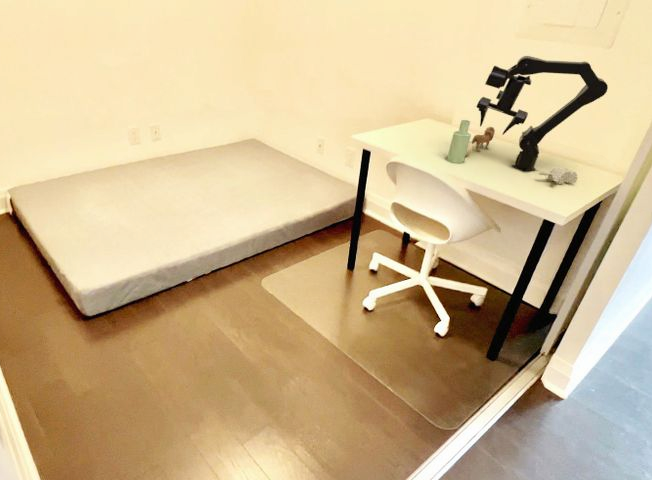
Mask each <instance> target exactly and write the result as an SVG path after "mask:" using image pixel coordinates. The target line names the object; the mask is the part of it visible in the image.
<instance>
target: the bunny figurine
mask: <svg viewBox="0 0 652 480" xmlns="http://www.w3.org/2000/svg"><path fill="white" fill-rule="evenodd" d="M538 175H539V176H547V179H548V180H549V181H550V182H554V183H555V184H556V185H563V184H565V183H570V184H571V183H573V184H575V183H576V182H577V180H578V178H579V177H578V174H577V172H576V171H573V170H570V169H568V168H561V167H557V166H556V167H553V168H552V170H550V171H549V172H548V171H543V170H540V172H539V173H538Z"/></svg>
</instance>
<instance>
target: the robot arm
mask: <svg viewBox="0 0 652 480" xmlns="http://www.w3.org/2000/svg"><path fill="white" fill-rule="evenodd" d="M536 74H561V75H562V74H563V75H579V76H580V77H581V79H582V81H583V82H584V84H585V85H584V86H583V87H582V88H581V89H580V91H579V92H578V93H577V94H576V96H574V98H573V99H571V100H570V101H568V102H567V103H566V104H564V105H563V106H562V107H561V108H560V109H558V110H557V111H556V112H555V113H553V114H552V115H551V116H549V117H548V118H547V119H545V120H544V121H543V122H542V123H541V124H539V125H538V126H534V127H533V126H532V125H530V126H529V127H528V128H527V129H526V130H524V131H522V132H521V135H520V136H519V140H518V146H519V149H520V150H519V153H518V154H517V156H516V159H515V162H514V164H511V167H512V168H515V169H517V170H519V171H521V172H525V173H527V172H531V171H536V168H535V166H536V164H537V160H538V158H539V154H540V149H539V144H540V142H541V141H542V140H543V138H545V136H546V135H547V134H549V133H550V132H551V131H552V130H554V129H555V128H557V127H558V126H559V125H560V124H562V123H563V122H565V120H567V119H568V118H569V117H571V116H572V115H573V114H575V113H576V112H577V111H579V110H580V109H581V108H582V107H584V106H587V105H590V104H591V103H593V102H595V101H597V100H599V99H601V98H602V97H604V96H605V95H606V94H607V92H608V86H609V85H608V83H607V82H606V81H605V80H604V79H603V78H600V77H598V75H597V74H596V73H595V71H594V70H593V68H592V65H591V64H590V63H589V62H588V61H567V60H566V61H565V60H548V59H547V60H546V59H542V58H539V57H534V56H531V55H523V56H521V57H520V58H519V59H518V61H517V62H516V64H514V65H512V66H511V67H509V68H508V69H505V68H502V67H499V66H498V65H493V67H492V68H491V71H490V73H489V74H488V76H487V78H486V80H485V82H484V85H486V86H489V87H491V88H495V89H500V90H499V92H498V93H497V95H496V98H495V99H497V102H496V104H495V103H492V102H491V101H492V99H491V98H488V97H485V96H482V97H480V99H479V100H478V102H477V103H476V106H475V107H476V108H477V109H478V111H479V112H480V123H479V127H482V125H483V123H484V121H485V119H486V115H487V113H488V110H489V109H491V110H494V111H496V112H499V113H502V114H504V115H508V116H510V117H512V119H511V120H510V122H509V123H508V125H507V126H506V127H505V129H504V130H503V132H502V136H504V135H505V134H506V133H507V132H508V131H509V130H510V129H512V128H513V127H515V126H516V125H520V124H521V125H523V124H525V122H526V120H527V118H528V116H529V112H527V111H526V110H523V109H518V110H517V111H515V110H512V109H513V108H514V105H515V104H516V101H517V99H518V97H519V96H520V94H521V92H522V90H523V88H524V86H525V85H527V86H531V85H532V78H531V75H536ZM501 88H504V89H503V90H501Z"/></svg>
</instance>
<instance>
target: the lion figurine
mask: <svg viewBox="0 0 652 480" xmlns="http://www.w3.org/2000/svg"><path fill="white" fill-rule="evenodd" d="M495 132H496V131H495V128H494V127H493V126H488V127H486V128H485V130H484V134H475V135H474V136H473V138H472V140H471V142H472V144H473V145H474V144H476V146H475V150H476V151H477V152H480V151H481V150H480V149H481V148H482V149H483V147H484V149H485V150H488V149H489V145H490V143H491V141H493V139H494V135H495ZM485 143H486V145H485V146H483V145H484V144H485ZM479 148H480V149H479Z"/></svg>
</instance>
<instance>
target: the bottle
mask: <svg viewBox="0 0 652 480" xmlns="http://www.w3.org/2000/svg"><path fill="white" fill-rule="evenodd" d="M470 124H471V121H470V120H467V119H461V120H460V123H459V128H458V131H454V132H453V134H452V137H451V142H450V146H449V149H448V154H447V157H446V159H447V161H448V162H450V163H454V164H462V163H464V161H465V158H466V156H467V155H466V151H467V148H468V144H469V141H471V136H472V134H471V133H470V132H468V131H469V128H470ZM465 155H466V156H465Z"/></svg>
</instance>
